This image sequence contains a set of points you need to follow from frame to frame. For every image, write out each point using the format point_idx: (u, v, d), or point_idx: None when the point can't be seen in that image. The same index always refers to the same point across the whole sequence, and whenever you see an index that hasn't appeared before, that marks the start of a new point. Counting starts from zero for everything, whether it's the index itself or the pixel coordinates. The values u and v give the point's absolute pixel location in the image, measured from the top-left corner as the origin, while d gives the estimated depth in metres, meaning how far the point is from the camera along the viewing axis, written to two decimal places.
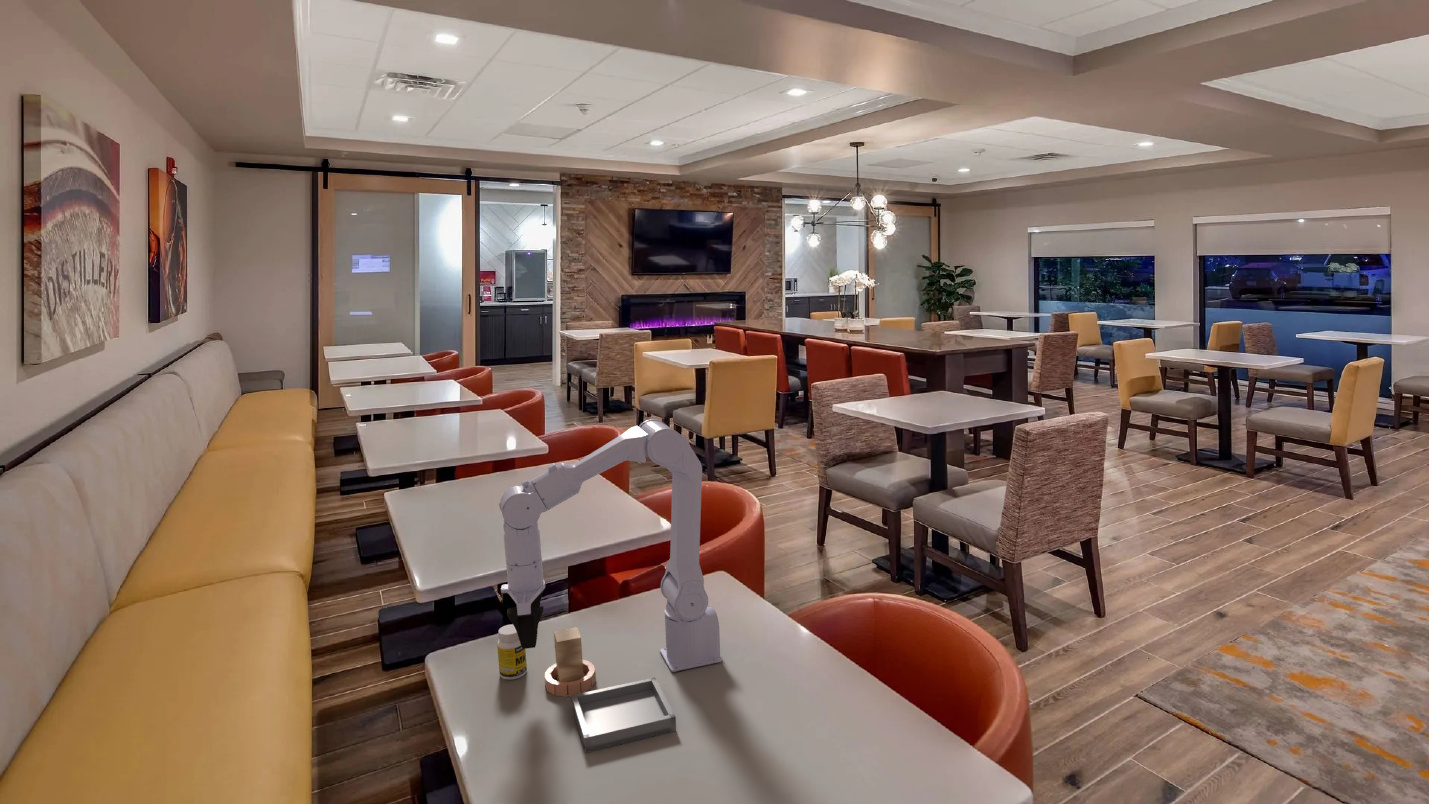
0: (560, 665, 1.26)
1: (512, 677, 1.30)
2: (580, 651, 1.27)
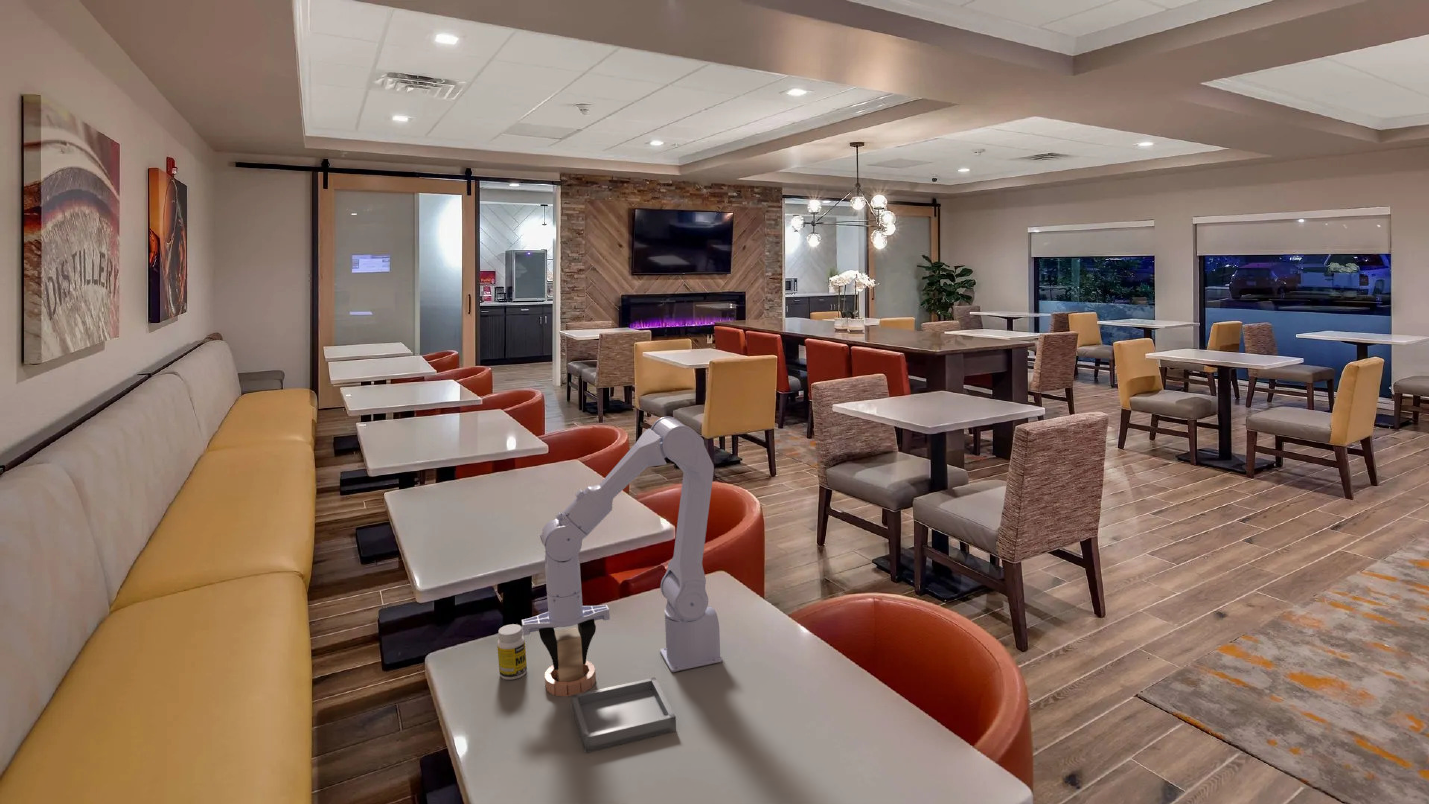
0: (560, 665, 1.26)
1: (512, 677, 1.30)
2: (580, 651, 1.27)
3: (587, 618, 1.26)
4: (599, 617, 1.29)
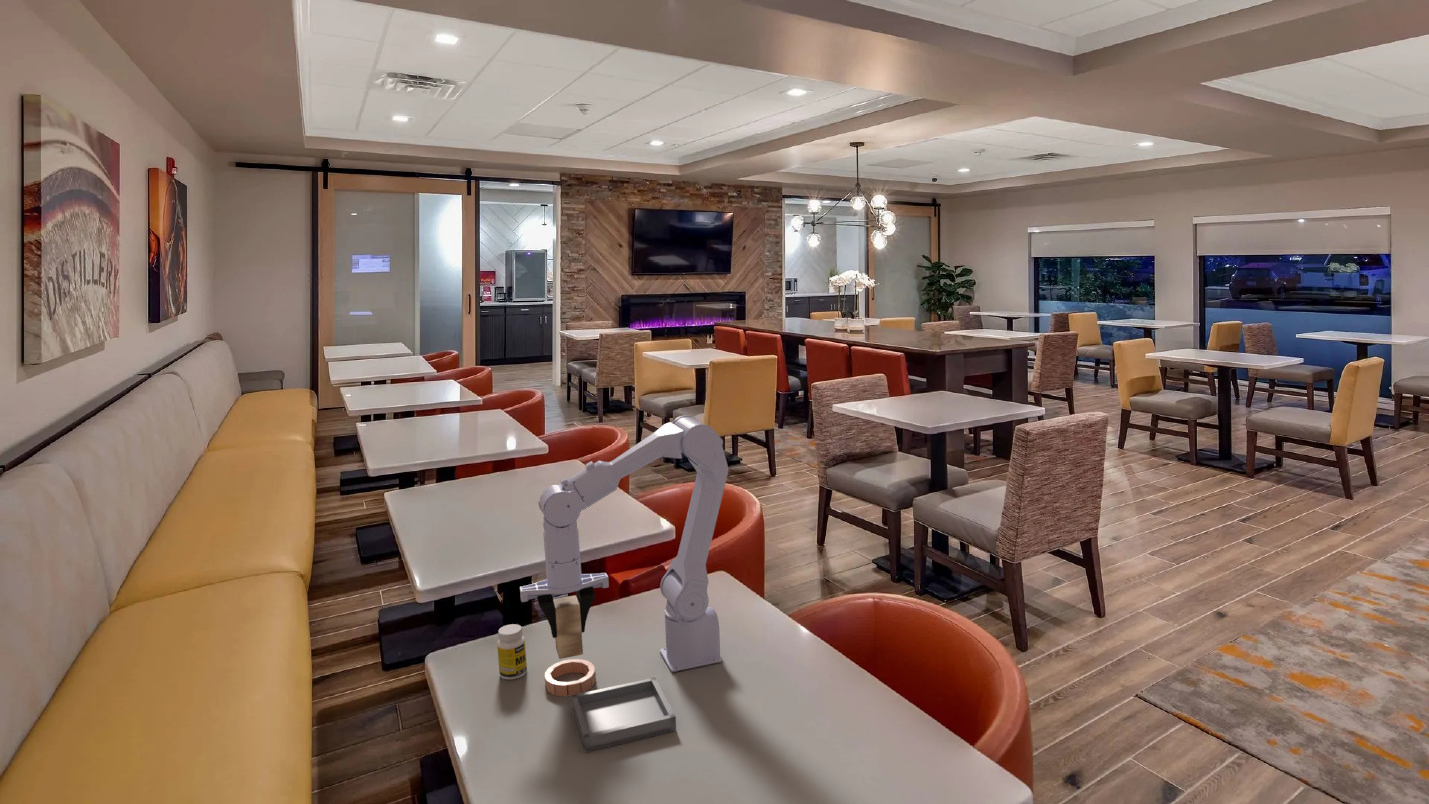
0: (559, 633, 1.25)
1: (512, 677, 1.30)
2: (579, 619, 1.25)
3: (586, 585, 1.25)
4: (598, 585, 1.27)
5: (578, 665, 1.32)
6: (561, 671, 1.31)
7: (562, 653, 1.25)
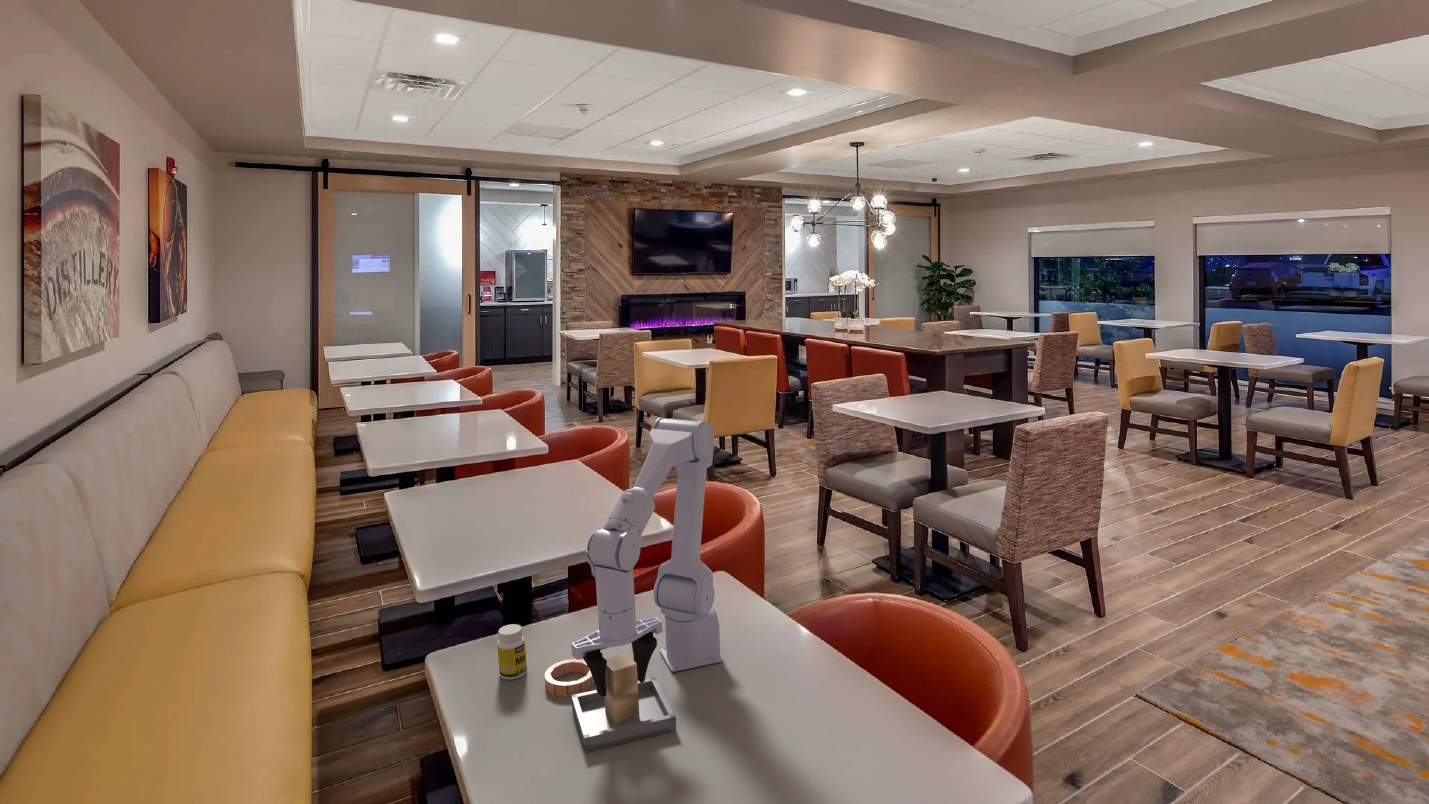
0: (616, 697, 1.15)
1: (512, 677, 1.30)
2: (636, 679, 1.16)
3: (643, 633, 1.15)
4: (651, 631, 1.18)
5: (578, 665, 1.32)
6: (561, 671, 1.31)
7: (619, 718, 1.15)
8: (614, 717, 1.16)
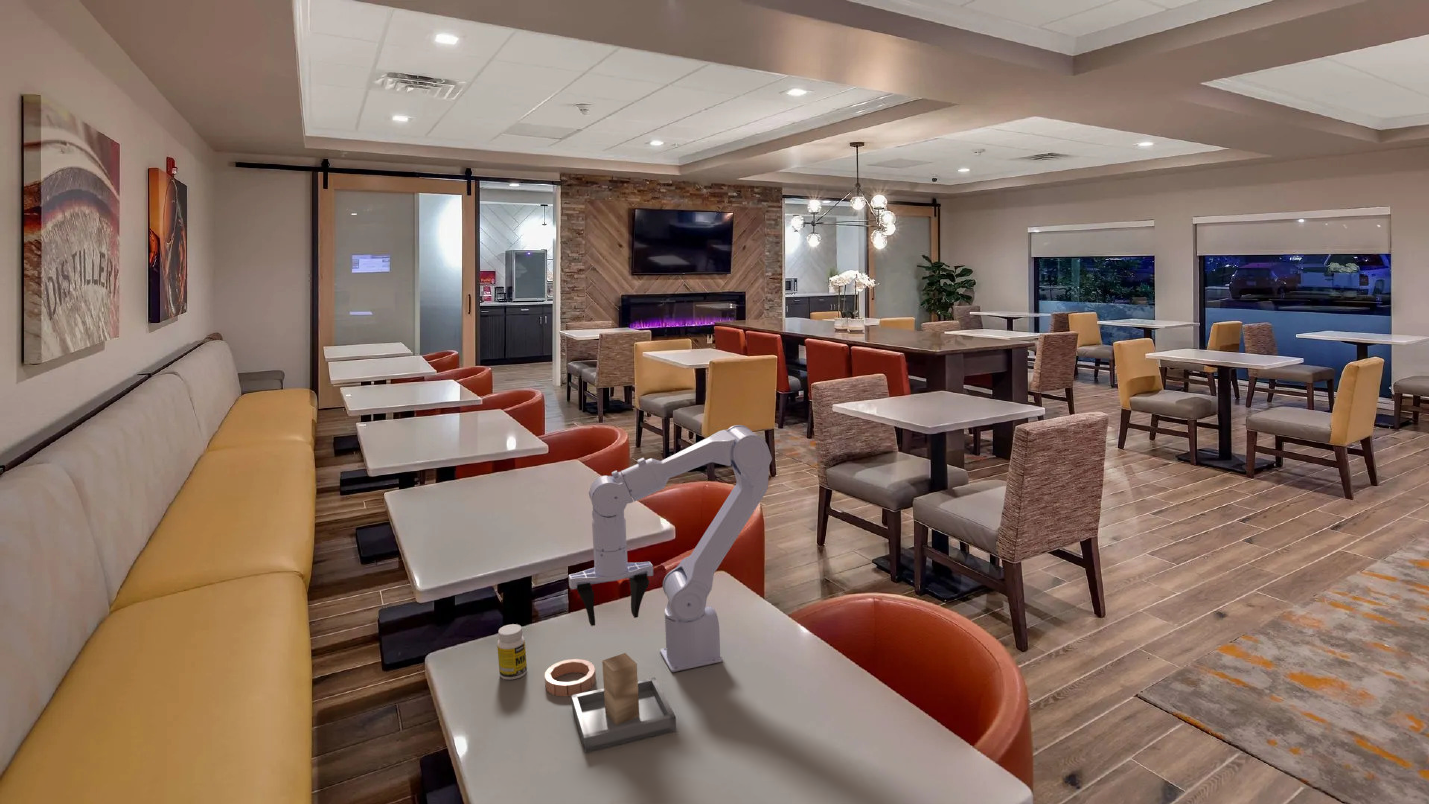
0: (616, 697, 1.15)
1: (512, 677, 1.30)
2: (636, 679, 1.16)
3: (632, 573, 1.29)
4: (643, 573, 1.32)
5: (578, 665, 1.32)
6: (561, 671, 1.31)
7: (619, 718, 1.15)
8: (614, 717, 1.16)
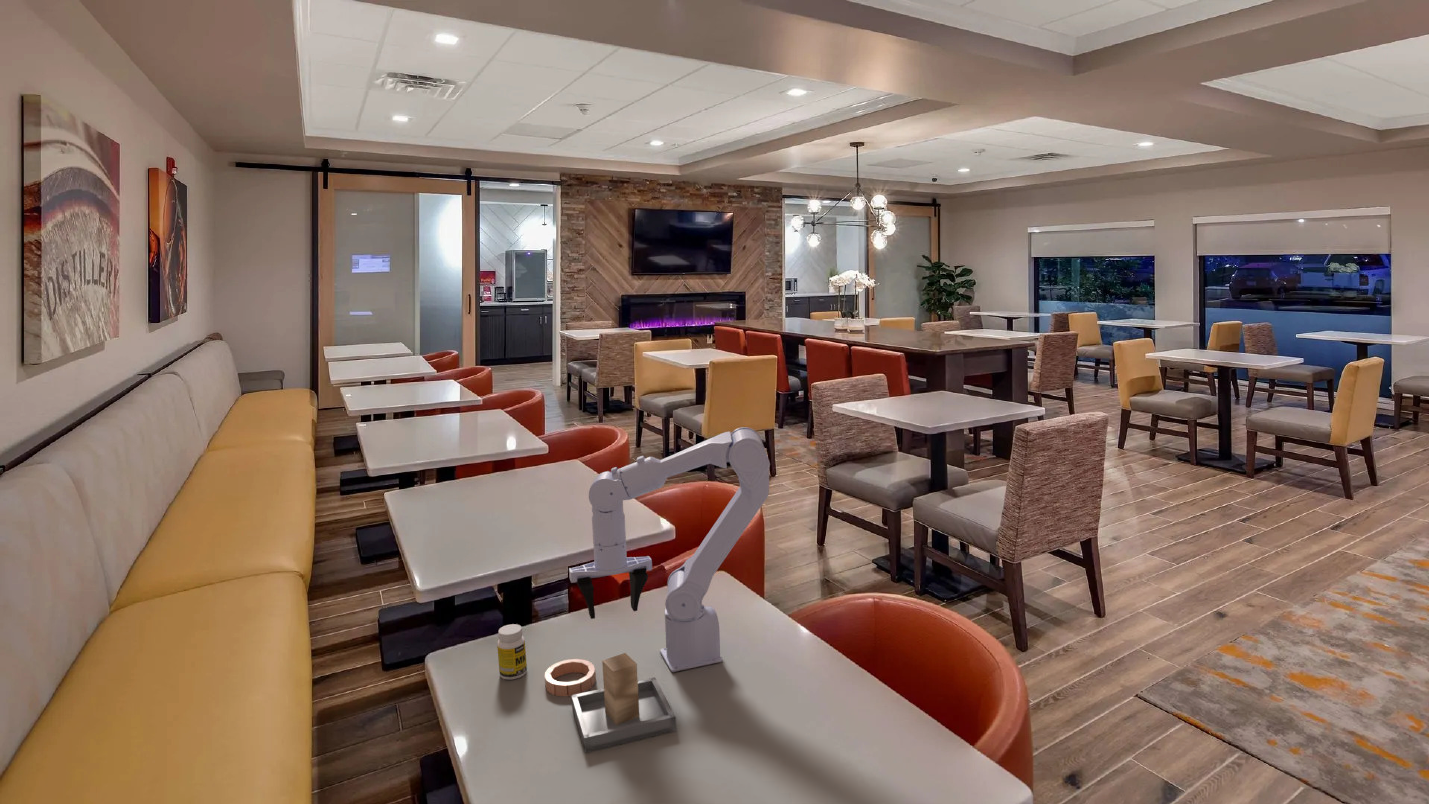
0: (616, 697, 1.15)
1: (512, 677, 1.30)
2: (636, 679, 1.16)
3: (631, 567, 1.32)
4: (642, 567, 1.34)
5: (578, 665, 1.32)
6: (561, 671, 1.31)
7: (619, 718, 1.15)
8: (614, 717, 1.16)
